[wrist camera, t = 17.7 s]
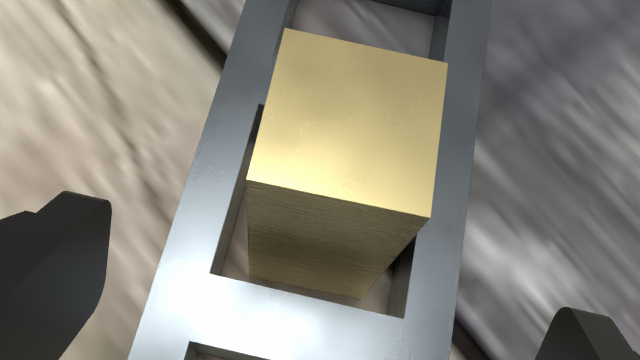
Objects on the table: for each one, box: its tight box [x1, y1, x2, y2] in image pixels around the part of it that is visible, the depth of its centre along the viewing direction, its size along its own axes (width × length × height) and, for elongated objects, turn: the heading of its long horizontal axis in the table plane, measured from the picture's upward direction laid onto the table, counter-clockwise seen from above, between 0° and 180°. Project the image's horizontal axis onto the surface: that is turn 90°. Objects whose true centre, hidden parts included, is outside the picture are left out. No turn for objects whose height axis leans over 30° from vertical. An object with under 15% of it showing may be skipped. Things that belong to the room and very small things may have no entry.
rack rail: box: [128, 0, 492, 360], centre depth 20 cm, size 24×9×3 cm, turn 168°
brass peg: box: [246, 28, 448, 299], centre depth 17 cm, size 4×4×9 cm
